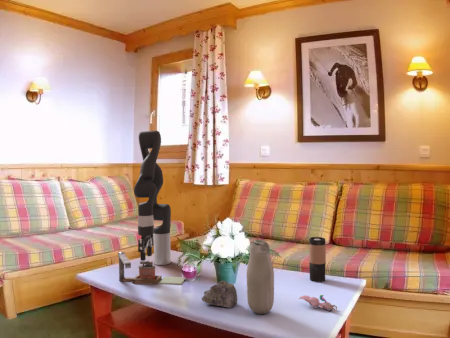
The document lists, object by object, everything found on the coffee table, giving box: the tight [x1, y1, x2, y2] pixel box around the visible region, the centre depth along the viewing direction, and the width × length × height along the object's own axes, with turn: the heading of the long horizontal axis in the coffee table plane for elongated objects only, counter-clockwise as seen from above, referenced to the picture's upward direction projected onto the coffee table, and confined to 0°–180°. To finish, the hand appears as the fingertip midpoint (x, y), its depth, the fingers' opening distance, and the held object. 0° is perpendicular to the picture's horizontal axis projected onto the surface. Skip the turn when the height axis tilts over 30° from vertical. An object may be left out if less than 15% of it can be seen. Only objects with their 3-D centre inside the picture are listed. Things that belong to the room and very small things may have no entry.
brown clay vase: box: [246, 239, 275, 315], centre depth 156 cm, size 10×10×28 cm
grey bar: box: [117, 251, 132, 270], centre depth 190 cm, size 3×21×3 cm, turn 23°
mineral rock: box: [201, 280, 238, 309], centre depth 165 cm, size 13×11×10 cm
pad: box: [158, 276, 185, 286], centre depth 196 cm, size 9×11×1 cm
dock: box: [118, 257, 163, 285], centre depth 197 cm, size 7×20×11 cm, turn 80°
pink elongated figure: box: [298, 294, 338, 312], centre depth 161 cm, size 6×6×15 cm
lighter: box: [138, 260, 156, 279], centre depth 196 cm, size 8×3×10 cm, turn 84°
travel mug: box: [308, 236, 327, 283], centre depth 195 cm, size 8×8×20 cm
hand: (146, 258), depth 195 cm, fingers open, 8 cm apart
